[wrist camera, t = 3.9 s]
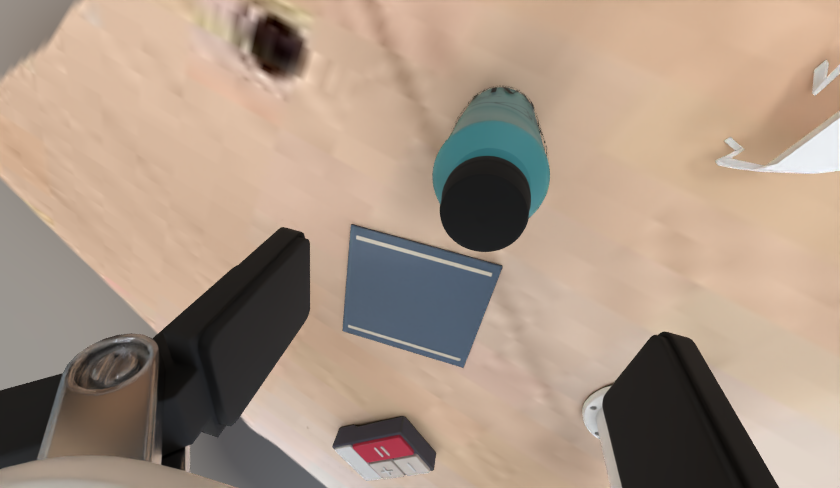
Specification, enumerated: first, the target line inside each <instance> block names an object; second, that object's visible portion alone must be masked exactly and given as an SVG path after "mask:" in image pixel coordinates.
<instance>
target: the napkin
mask: <svg viewBox="0 0 840 488" xmlns="http://www.w3.org/2000/svg"><path fill="white" fill-rule="evenodd" d="M501 269H502V266H501V265H498V264H494V263H491V262H487V261H483V260H480V259H476V258H472V257H469V256H465V255H462V254H458V253H454V252H451V251H447V250H443V249H440V248H436V247H433V246H429V245H425V244H422V243H418V242H414V241H411V240H407V239H403V238H400V237H396V236H393V235H389V234H385V233H382V232H378V231H374V230H371V229H367V228H364V227H360V226H356V225H353V224H352V225H351V231H350V243H349V256H348V268H347V281H346V294H345V306H344V319H343V331H344V332H348V333H351V334H354V335H357V336H361V337H364V338H367V339H371V340H374V341H377V342H380V343H384V344H387V345H390V346H393V347H397V348H400V349H403V350H407V351H410V352H413V353H416V354H420V355H423V356H426V357H429V358H433V359H436V360H439V361H443V362H446V363H449V364H452V365H456V366H459V367H462V368H464V365H465V362H466V360H467V357H468V355H469V352H470V349H471V347H472V344H473V342H474V339H475V336H476V334H477V331H478V329H479V326H480V324H481V321H482V318H483V316H484V313H485V311H486V308H487V305H488V303H489V300H490V298H491V295H492V293H493V290H494V287H495V285H496V282H497V280H498V277H499V274H500V272H501Z"/></svg>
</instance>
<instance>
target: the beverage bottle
mask: <svg viewBox="0 0 840 488" xmlns="http://www.w3.org/2000/svg"><path fill="white" fill-rule="evenodd" d="M493 87H494V86H493ZM493 87H491V88H492V89H491V88H490V87H489V88H490V89H489V90H488V89H487V90H486V91H485V90H484V91H483V92H482V93H481V91H480V92H479V93H481V94H479V95H478V93H477V94H476V96H475V97H474V98H473V100H472V101H471V103H470V104H469V105H468V107H467V108H466V107H465V108H466V110H465V111H464V113H463V112H462V113H463V114H462V116H461V117H459V118H460V119H458V118H457V119H458V122H457V124H456V126H455V127H454V128H453V129H454V130H453V131H452V130H451V131H452V133H451V135H450V136H449V138H448V139H447V140H446V141H445V143H444V144H443V145H442V147H441V149H440V150H439V152H438V154H437V157H436V159H435V162H434V167H433V174H432V176H433V187H434V191H435V194H436V196H437V199H438V201H439V203H440V217H441V221H442V224H443V227H444V229H445V231H446V232H447V234H448V235H449V236H450V237H451V238H452V239H453V240H454V241H455V242H456V243H458V244H459V245H461V246H463V247H465V248H467V249H470V250H474V251H479V252H491V251H496V250H500V249H503V248H505V247H507V246H509V245H510V244H512V243H513V242H515V241H516V240H517V239H518V238H519V237H520V235H521V234H522V232H523V231H524V229H525V227H526V225H527V222H528V218H530V217H531V216H532V215H533V214H534V213H535V212H536V210H537V209H538V208H539V207H540V205H541V203H542V202H543V200H544V198H545V196H546V194H547V191H548V187H549V182H550V169H549V163H548V159H547V156H546V154H547V152H546V154H545V146H544V147H543V143H542V139H541V136H540V132H541V135H543V133H542V131H541V130H540V131H539V128H538V127H539V122H538V125H537V120H536V117H535V115H536V114H535V113H534V111H535V110H536V109H535V110H533V109H534V107H533V104H532V102H531V101H530V102H531V103H530V102H529V100H528V99H527V98H526V96H525V94H522V92H520V93H519V91H520V90H519V91H517V90H518V89H517V90H516V91H515V90H513V89H510V88H511V87H510V88H506V86H505V87H503V86H502V87H500V86H499V88H497V87H498V86H497V87H495V88H493ZM512 88H513V87H512ZM515 89H516V88H515ZM477 95H478V96H477ZM527 97H528V96H527ZM468 103H469V102H468ZM465 108H464V109H465ZM459 116H460V115H459ZM537 119H538V117H537ZM455 122H456V121H455ZM543 137H544V136H543ZM543 141H544V140H543ZM544 144H545V141H544ZM546 147H547V146H546ZM546 151H547V149H546Z"/></svg>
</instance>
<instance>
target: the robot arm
mask: <svg viewBox="0 0 840 488" xmlns="http://www.w3.org/2000/svg"><path fill="white" fill-rule="evenodd" d="M309 311H310V242H309V240H308V239H305V236H304V233H302V232H299V231H296V230H292V229H288V228H285V227H281V228H280V229H278V230H277V231H276V232H275V233H274V234H273V235H272V236H271V237H269V238H268V239H267V240H266V241H265V242H264V243H263V244H261V245H260V246H259V247H258V248H257V249H256V250H255V251H254V252H252V253H251V254H250V255H249V256H248V257H247V258H246V259H245V260H243V261H242V262H241V263H240V264H239V265H237V266H235V267H234V268H232V269H231V270H230V271H229V272H228V273H227V274H225V275H224V276H223V277H222V278H221V279H220V280H219V281H217V282H216V283H215V284H214V285H213V286H212V287H211V288H210V289H208V290H207V291H206V292H205V293H204V294H203V295H202V296H200V297H199V298H198V299H197V300H196V301H195V302H194V303H192V304H191V305H190V306H189V307H188V308H187V309H186V310H184V311H183V312H182V313H181V314H180V315H179V316H178V317H177V318H175V319H174V320H173V321H172V322H171V323H170V324H169V325H167V326H166V327H165V328H164V329H163V330H162V331H161V332H159V333H158V334H157V335H156V336H155V337H154V338H153V339H152V338H150V337H147V336H145V335H141V334H124V335H116V336H113V337H110V338H106V339H103V340H101V341H99V342H97V343H95V344H92V345H90V346H89V347H87V348H86V349H84V350H83V351H82V352H80V353H78V354H77V355H76V356H75V357H74V358H73V359H72V360H71V362H69V364H68V365H67V367H66V368H65V370H64V372H63V373H62V374H59V375H55V376H52V377H48V378H44V379H40V380H37V381H33V382H30V383H26V384H22V385H19V386H15V387H11V388H8V389H4V390H1V391H0V488H237V487H234V486H230V485H227V484H224V483H221V482H218V481H215V480H211V479H208V478H205V477H202V476H199V475H196V474H193V473H190V445H191V444H193V442H194V441H195V439H196V438H197V437H198V436H199V434H200V433H201V432H203V433H206V434H209V435H212V436H215V437H219V435H220V433H221V432H222V431H223V429H224V428H225V427H226V425H227V426H232V425H233V424H234V423H235V422H236V421H237V420H238V418H239V417H240V415H241V414H242V413H243V411H244V410H245V408H246V407H247V405H248V404H249V402H250V401H251V399H252V398H253V397H254V395H255V394H256V392H257V391H258V389H259V388H260V386H261V385H262V384H263V382H264V381H265V379H266V378H267V376H268V375H269V373H270V372H271V370H272V369H273V368H274V366H275V365H276V363H277V362H278V360H279V359H280V357H281V356H282V354H283V353H284V352H285V350H286V349H287V347H288V346H289V344H290V343H291V341H292V340H293V338H294V337H295V336H296V334H297V333H298V331H299V330H300V328H301V327H302V325H303V324H304V322H305V321H306V319H307V317H308V315H309ZM582 415H583V421H584V424H585V426H586V427H587V429H588V430H589V431H590V432H591V433H592V434H593V435H594V436H595V437H597V438H599V439H600V441H601V446H602V451H603V455H604V460H605V464H606V469H607V474H608V478H609V483H610V488H779V487H778V485H777V483H776V482H775V480H774V478H773V476H772V475H771V473H770V471H769V470H768V468H767V466H766V464H765V463H764V461H763V459H762V458H761V456H760V454H759V452H758V451H757V449H756V447H755V446H754V444H753V442H752V440H751V439H750V437H749V435H748V434H747V432H746V430H745V428H744V427H743V425H742V423H741V422H740V420H739V418H738V416H737V415H736V413H735V411H734V410H733V408H732V406H731V404H730V403H729V401H728V399H727V398H726V396H725V394H724V392H723V391H722V389H721V387H720V386H719V384H718V382H717V381H716V379H715V377H714V375H713V374H712V372H711V370H710V369H709V367H708V365H707V363H706V362H705V360H704V358H703V357H702V355H701V353H700V351H699V350H698V348H697V346H696V345H695V343H694V342H693V341H692V340H691V339H690V338H687V337H683V336H680V335H676V334H672V333H669V332H662V333H660V334H659V335H654V336H652V337H651V338H650V339H649V340H648V341H647V342H646V344H645V345H644V346H643V347H642V349H641V350H640V351H639V352H638V354H637V355H636V356H635V357H634V359H633V360H632V361H631V362H630V364H629V365H628V366H627V367H626V369H625V370H624V371H623V372H622V374H621V375H620V376H619V377H618V379H617V380H616V381H615V382H614V384H613V385H611V386H608V387H605V388H602V389H600V390H598V391H596V392H595V393H594V394H592V395H591V396H590V397H589V398H588V399H587V400H586V401H585V403H584V405H583V409H582Z"/></svg>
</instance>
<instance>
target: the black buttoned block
mask: <svg viewBox="0 0 840 488" xmlns="http://www.w3.org/2000/svg"><path fill="white" fill-rule="evenodd" d="M332 447H333V448H334V449H335V451H336V452H337V453H338V454H339V455H340V456H341V457H342V458H343V459H344V460H345V461H346V462H347V463H348V464H349V465H350V466H351V467H352V468H353V469H354V470H355V471H356V472H358V473H359V474H360V475H361V476H362V477H363V478H364V479H365V480H366V481H370V480H377V479H381V478H383V479H390V478H397V477H404V476H405V475H407V476H411V475H417V474H424V473H429V472H430V471H433V470H434V465H435V458H436V452H435V451H434V450H433V449H432V448H431V446H430V445H429V444H428V443H427V442H426V441H425V439H424V438H423V437H422V436H421V435H420V434H419V432H418V431H417V430H416V429H415V428H414V427H413V425H412V424H411V423H410V422H409V421H408V420H407V418H406V417H404V416H402V417H397V418H393V419H389V420H384V421H380V422H376V423H371V424H367V425H363V426H358V427H357V426H355V425H350V426H346V427H342V428H339V431H338V433H337V436H336V438H335V441H334V443H333V446H332Z"/></svg>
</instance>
